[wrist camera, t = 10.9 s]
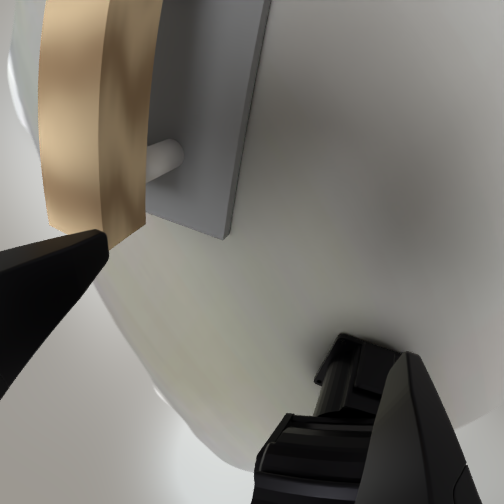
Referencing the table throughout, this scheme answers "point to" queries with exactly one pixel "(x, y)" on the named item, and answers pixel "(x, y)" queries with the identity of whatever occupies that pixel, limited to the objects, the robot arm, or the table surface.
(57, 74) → the oak plank
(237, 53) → the peg board
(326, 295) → the table surface
